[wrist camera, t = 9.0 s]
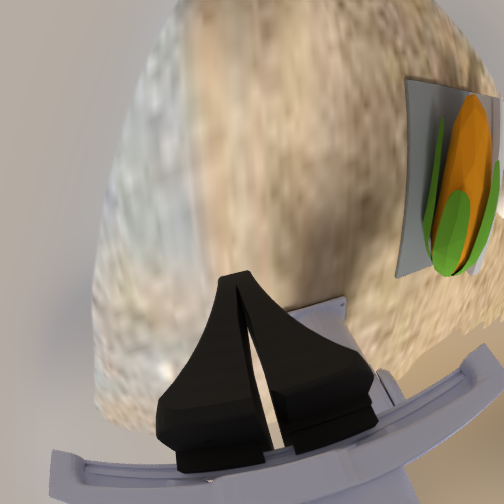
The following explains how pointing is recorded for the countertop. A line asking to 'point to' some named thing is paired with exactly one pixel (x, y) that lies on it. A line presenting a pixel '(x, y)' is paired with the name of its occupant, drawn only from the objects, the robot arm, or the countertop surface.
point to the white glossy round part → (501, 201)
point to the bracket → (422, 161)
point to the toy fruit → (462, 193)
